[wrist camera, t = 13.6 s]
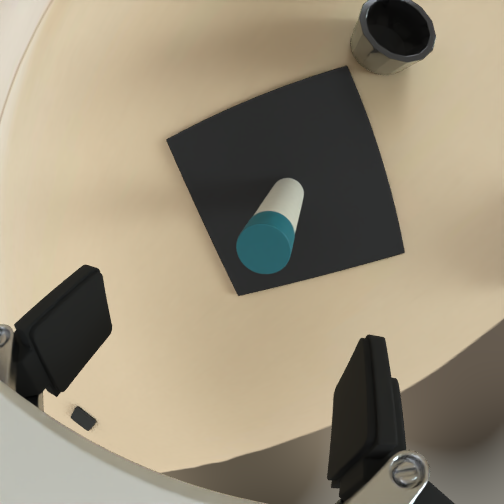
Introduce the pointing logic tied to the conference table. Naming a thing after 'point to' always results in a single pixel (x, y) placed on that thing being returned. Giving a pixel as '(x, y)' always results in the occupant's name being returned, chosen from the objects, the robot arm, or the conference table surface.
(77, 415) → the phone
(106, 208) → the conference table surface
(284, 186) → the marker
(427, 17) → the pen cup
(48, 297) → the robot arm
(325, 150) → the mat
